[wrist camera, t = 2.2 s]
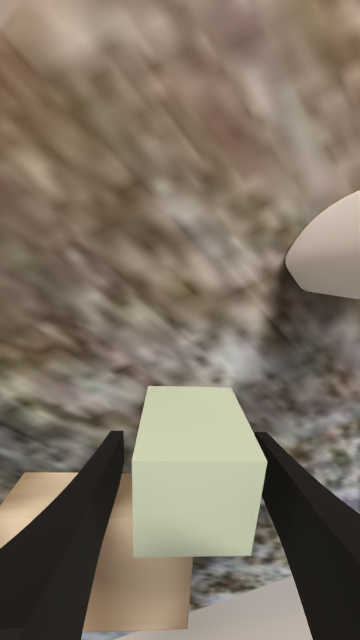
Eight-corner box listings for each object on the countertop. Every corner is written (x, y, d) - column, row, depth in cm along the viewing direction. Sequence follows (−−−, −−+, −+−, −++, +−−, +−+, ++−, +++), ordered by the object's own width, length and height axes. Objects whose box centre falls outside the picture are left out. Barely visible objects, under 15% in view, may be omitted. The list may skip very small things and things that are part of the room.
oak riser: (191, 466, 14) (196, 517, 11) (184, 566, 17) (187, 629, 14) (29, 466, 14) (-10, 518, 11) (45, 568, 16) (17, 634, 13)
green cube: (230, 386, 12) (267, 461, 8) (223, 454, 14) (250, 556, 9) (148, 385, 12) (131, 461, 7) (147, 453, 13) (133, 557, 9)
